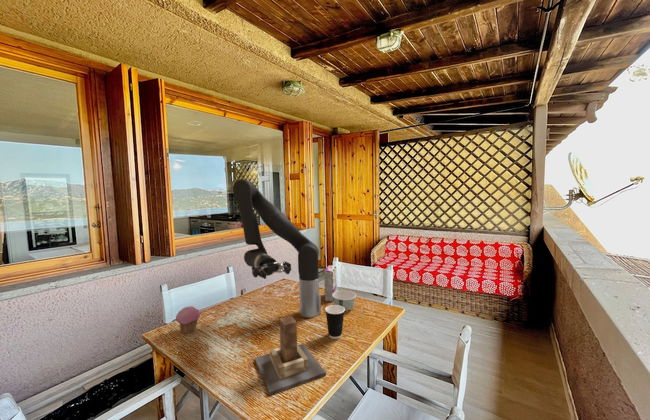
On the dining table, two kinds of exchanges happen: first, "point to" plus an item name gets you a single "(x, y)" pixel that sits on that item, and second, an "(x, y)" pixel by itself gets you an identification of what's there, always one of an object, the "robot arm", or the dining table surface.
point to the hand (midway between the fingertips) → (277, 273)
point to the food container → (344, 299)
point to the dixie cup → (335, 320)
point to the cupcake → (188, 319)
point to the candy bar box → (330, 282)
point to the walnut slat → (288, 339)
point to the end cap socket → (288, 369)
